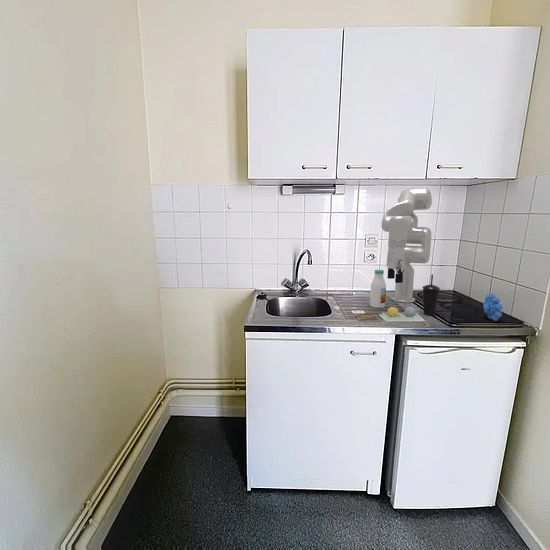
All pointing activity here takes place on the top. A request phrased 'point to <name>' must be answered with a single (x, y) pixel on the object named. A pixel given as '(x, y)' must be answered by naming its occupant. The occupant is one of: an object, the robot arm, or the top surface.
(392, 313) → the ochre ball
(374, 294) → the milk bottle
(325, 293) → the top surface
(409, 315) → the slate ball
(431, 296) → the drinking cup
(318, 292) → the top surface
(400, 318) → the rack
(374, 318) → the coaster
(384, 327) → the top surface
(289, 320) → the top surface
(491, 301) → the grapes
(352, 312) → the tile
